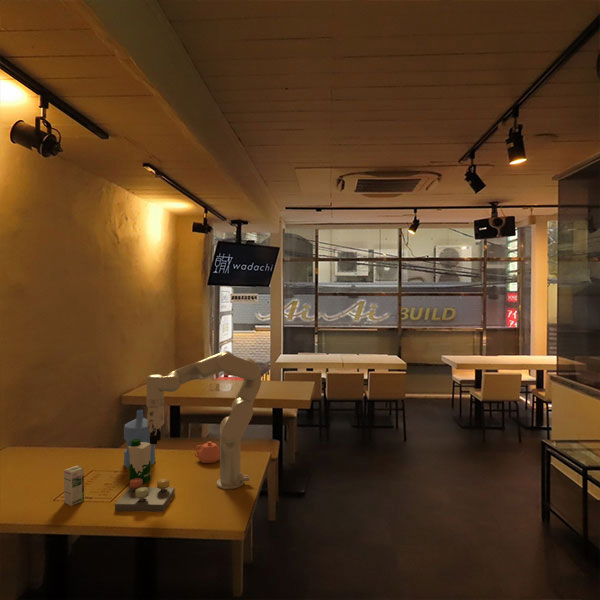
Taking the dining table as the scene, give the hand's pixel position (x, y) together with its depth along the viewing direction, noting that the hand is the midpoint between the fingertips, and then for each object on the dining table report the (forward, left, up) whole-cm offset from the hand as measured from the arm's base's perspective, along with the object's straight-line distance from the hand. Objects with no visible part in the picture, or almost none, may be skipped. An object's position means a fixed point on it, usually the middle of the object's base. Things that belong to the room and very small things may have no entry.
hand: (155, 441), depth 201 cm
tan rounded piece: (-6, +7, -20) cm, 22 cm away
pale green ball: (0, +16, -20) cm, 26 cm away
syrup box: (+31, +12, -22) cm, 40 cm away
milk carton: (+10, -8, -22) cm, 26 cm away
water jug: (+19, -31, -22) cm, 43 cm away
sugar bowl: (-16, -36, -23) cm, 45 cm away
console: (0, +12, -22) cm, 25 cm away
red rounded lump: (+6, +7, -20) cm, 22 cm away
